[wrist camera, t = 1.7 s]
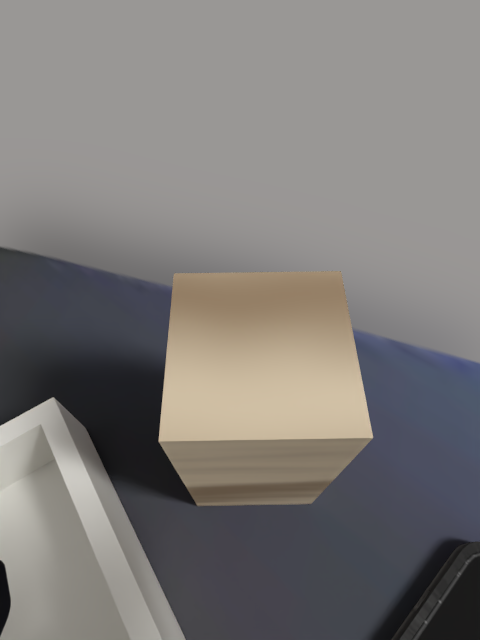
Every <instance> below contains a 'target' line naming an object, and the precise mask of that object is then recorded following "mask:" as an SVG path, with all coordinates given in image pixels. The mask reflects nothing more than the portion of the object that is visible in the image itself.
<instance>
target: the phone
mask: <svg viewBox="0 0 480 640" xmlns="http://www.w3.org/2000/svg"><path fill="white" fill-rule="evenodd" d="M448 561H449V563H448ZM391 640H480V542H471V543H466V544H463V545H460V546H458V547H457V548H456V549H455V550H454V551H453V552H452V554H451V555H450V557H449V558H448V560H447V561H446V562H445V564H444V565H443V567H442V568H441V569H440V571H439V572H438V574H437V575H436V577H435V578H434V579H433V581H432V582H431V584H430V585H429V587H428V588H427V589H426V591H425V592H424V594H423V595H422V596H421V598H420V599H419V601H418V602H417V604H416V605H415V606H414V608H413V609H412V611H411V612H410V613H409V615H408V616H407V618H406V619H405V621H404V622H403V623H402V625H401V626H400V628H399V629H398V630H397V632H396V633H395V635H394V636H393V638H392V639H391Z"/></svg>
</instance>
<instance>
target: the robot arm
mask: <svg viewBox="0 0 480 640" xmlns="http://www.w3.org/2000/svg"><path fill="white" fill-rule="evenodd" d="M10 607H11V597H10V591H9V585H8V579H7V573H6V568H5V564H4V563H3V561H1V560H0V636H1V634H2V631H3V629H4V626H5V624H6V621H7V619H8V616H9V612H10Z"/></svg>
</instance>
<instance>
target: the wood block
mask: <svg viewBox="0 0 480 640" xmlns="http://www.w3.org/2000/svg"><path fill="white" fill-rule="evenodd" d="M372 439H373V435H372V430H371V425H370V419H369V414H368V409H367V404H366V399H365V393H364V388H363V383H362V378H361V373H360V368H359V362H358V357H357V352H356V347H355V342H354V337H353V331H352V326H351V321H350V316H349V311H348V306H347V300H346V295H345V290H344V285H343V280H342V274H341V271H325V272H324V271H321V272H252V273H251V272H250V273H178V274H174V279H173V290H172V301H171V311H170V322H169V333H168V344H167V355H166V366H165V376H164V387H163V398H162V409H161V420H160V431H159V441H158V442H159V443H160V445H161V446H162V448H163V450H164V451H165V453H166V455H167V456H168V458H169V460H170V461H171V463H172V465H173V466H174V468H175V470H176V471H177V473H178V474H179V476H180V478H181V479H182V481H183V483H184V484H185V486H186V488H187V489H188V491H189V493H190V494H191V496H192V498H193V499H194V501H195V502H196V504H197V506H226V505H282V504H311V503H312V502H313V501H314V500H315V499H316V498H317V497H318V496H319V495H320V494H321V493H322V492H323V491H324V489H325V488H326V487H327V486H328V485H329V484H330V483H331V482H332V481H333V480H334V479H335V478H336V477H337V476H338V475H339V474H340V473H341V471H342V470H343V469H344V468H345V467H346V466H347V465H348V464H349V463H350V462H351V461H352V460H353V459H354V458H355V457H356V456H357V454H358V453H359V452H360V451H361V450H362V449H363V448H364V447H365V446H366V445H367V444H368V443H369V442H370V441H371V440H372Z"/></svg>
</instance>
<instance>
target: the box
mask: <svg viewBox="0 0 480 640" xmlns="http://www.w3.org/2000/svg"><path fill="white" fill-rule="evenodd" d="M0 560H1V561H3V563H4V564H5V568H6V573H7V579H8V585H9V591H10V597H11V607H10V612H9V616H8V619H7V621H6V624H5V626H4V629H3V631H2V634H1V636H0V640H186V639H185V637H184V635H183V633H182V631H181V628H180V626H179V624H178V622H177V620H176V618H175V616H174V614H173V612H172V609H171V607H170V605H169V603H168V601H167V599H166V597H165V595H164V593H163V590H162V588H161V586H160V584H159V582H158V580H157V578H156V576H155V573H154V571H153V569H152V567H151V565H150V563H149V561H148V559H147V557H146V554H145V552H144V550H143V548H142V546H141V544H140V542H139V540H138V538H137V535H136V533H135V531H134V529H133V527H132V525H131V523H130V521H129V518H128V516H127V514H126V512H125V510H124V508H123V506H122V504H121V502H120V499H119V497H118V495H117V493H116V491H115V489H114V487H113V485H112V483H111V480H110V478H109V476H108V474H107V472H106V470H105V468H104V466H103V464H102V461H101V459H100V457H99V455H98V453H97V451H96V449H95V447H94V444H93V442H92V440H91V438H90V436H89V434H88V432H87V430H86V428H85V427H84V426H83V425H82V424H81V423H80V422H79V421H78V420H77V419H76V418H75V417H74V416H73V415H72V414H71V413H70V412H69V411H68V410H67V409H65V408H64V407H63V406H62V405H61V404H60V403H59V402H58V401H57V400H56V399H55V398H54V397H53V398H51V399H49V400H47V401H45V402H43V403H42V404H40V405H38V406H36V407H34V408H32V409H31V410H29V411H27V412H25V413H23V414H21V415H20V416H18V417H16V418H14V419H12V420H10V421H9V422H7V423H5V424H3V425H1V426H0Z"/></svg>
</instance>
